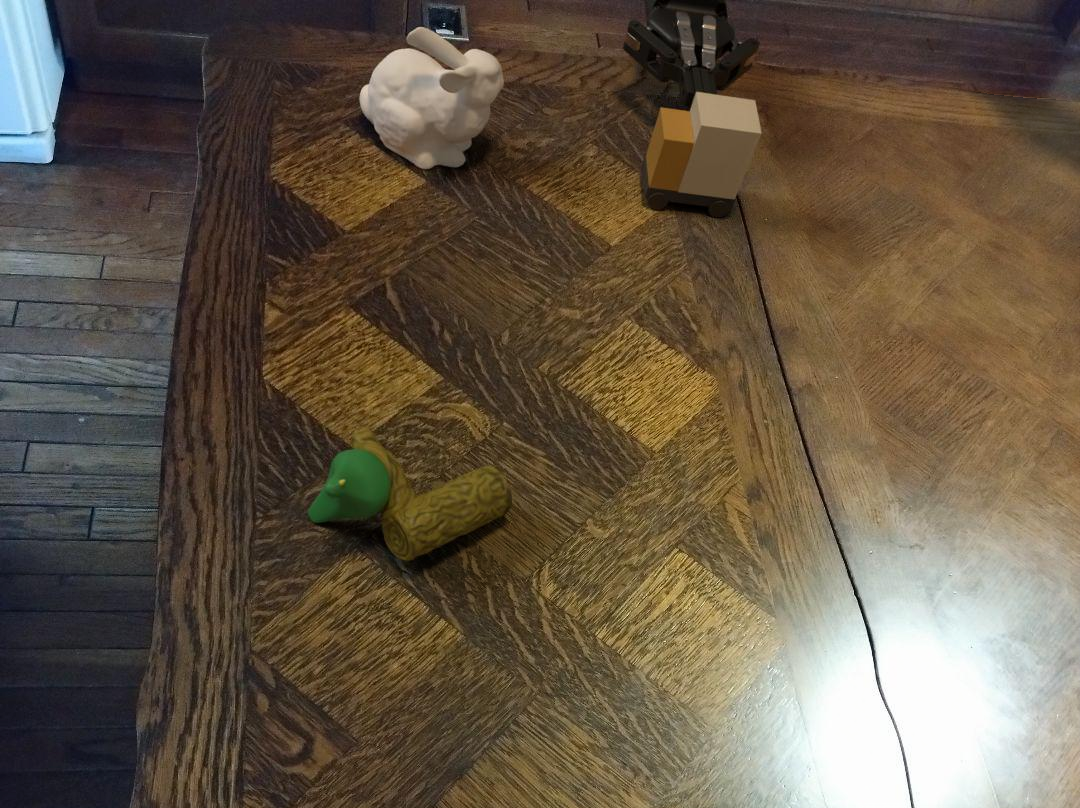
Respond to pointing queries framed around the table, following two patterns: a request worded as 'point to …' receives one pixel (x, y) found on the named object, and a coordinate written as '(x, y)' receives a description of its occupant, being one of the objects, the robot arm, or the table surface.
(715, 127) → the cream truck
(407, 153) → the rabbit
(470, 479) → the bird figurine
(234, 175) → the table surface
